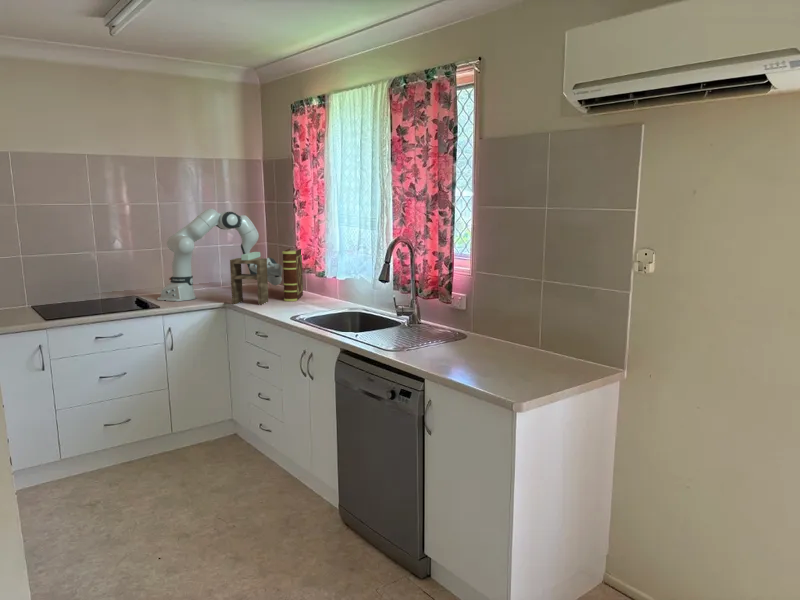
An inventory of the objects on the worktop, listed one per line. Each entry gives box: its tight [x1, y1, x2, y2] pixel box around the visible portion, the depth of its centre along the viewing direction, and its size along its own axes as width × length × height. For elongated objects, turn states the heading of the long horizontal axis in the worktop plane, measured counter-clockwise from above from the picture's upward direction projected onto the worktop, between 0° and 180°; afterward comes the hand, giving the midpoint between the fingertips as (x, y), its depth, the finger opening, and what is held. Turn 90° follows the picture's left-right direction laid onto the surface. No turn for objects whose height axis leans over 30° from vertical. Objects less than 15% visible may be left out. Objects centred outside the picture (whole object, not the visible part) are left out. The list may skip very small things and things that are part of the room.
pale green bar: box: [240, 251, 261, 260], centre depth 349 cm, size 4×19×3 cm, turn 172°
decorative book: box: [281, 248, 304, 302], centre depth 363 cm, size 22×8×30 cm, turn 179°
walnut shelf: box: [229, 257, 269, 306], centre depth 347 cm, size 18×11×26 cm, turn 82°
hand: (262, 262), depth 366 cm, fingers open, 8 cm apart
